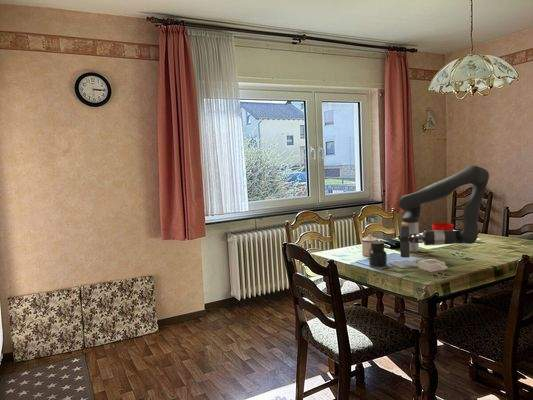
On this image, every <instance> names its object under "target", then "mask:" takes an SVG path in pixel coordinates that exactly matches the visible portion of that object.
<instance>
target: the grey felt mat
mask: <svg viewBox="0 0 533 400" xmlns="http://www.w3.org/2000/svg"><path fill="white" fill-rule="evenodd" d="M388 263H389V264H388V265H390V264H391V266H393V267H396V268H399V269H401V270H403V269H405V270H406V269H411V268H418V263H417V262H414V261H412V260H411V261H410V260H408V259H405V260H398V261H390V262H388Z"/></svg>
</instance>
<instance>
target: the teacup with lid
mask: <svg viewBox="0 0 533 400" xmlns="http://www.w3.org/2000/svg"><path fill="white" fill-rule="evenodd" d="M373 241H379V239H378V238H376V237H374V236H372V234H368V235H367V236H365V237H363V238H362V239H361V246H362V248H361V249H362V251H361V254H362V256H366V257H369V252H370V251H371V250H372V249H371V242H373Z"/></svg>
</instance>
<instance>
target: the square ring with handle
mask: <svg viewBox="0 0 533 400" xmlns="http://www.w3.org/2000/svg"><path fill="white" fill-rule="evenodd" d="M417 262H418V263H417V264H418V267H417V268H418V269H421V270H424V271H426V272H429V273H431V272H438V271H444V270H446V269H448V266H447V265H446V262H445V261H442V260H438V259H434V258H429V259H428V258H427V259H422V260H418V261H417Z"/></svg>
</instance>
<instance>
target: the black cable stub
mask: <svg viewBox="0 0 533 400" xmlns="http://www.w3.org/2000/svg"><path fill="white" fill-rule="evenodd" d="M399 236H400V237H409V226H407V223H402V222H401V225H399ZM399 242H400V241H399ZM399 244H400V247H399V249H400V258H406V259H408V258H410V253H411V252H409V242H400V243H399Z"/></svg>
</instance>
